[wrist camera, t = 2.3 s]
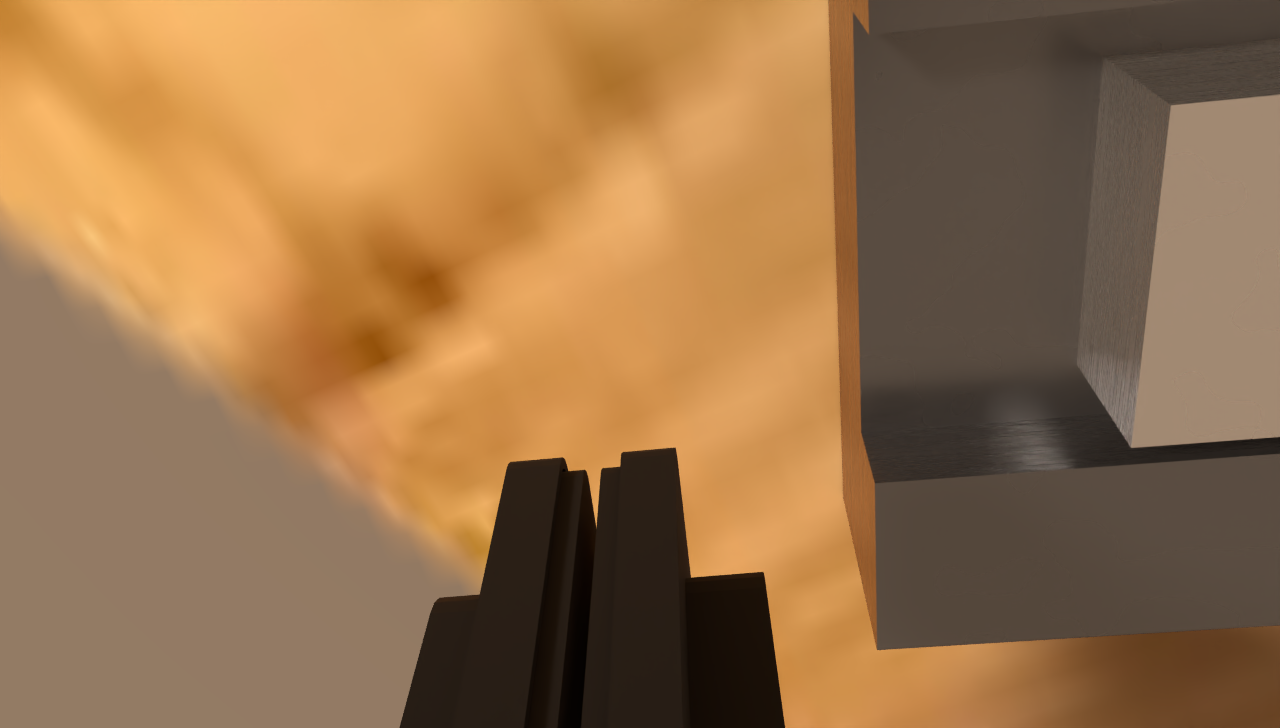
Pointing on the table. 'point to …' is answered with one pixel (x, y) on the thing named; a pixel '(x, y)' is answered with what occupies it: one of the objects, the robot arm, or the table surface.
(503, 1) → the table surface
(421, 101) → the table surface
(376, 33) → the table surface
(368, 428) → the table surface
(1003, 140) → the slotted ledge
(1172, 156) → the tan square block
